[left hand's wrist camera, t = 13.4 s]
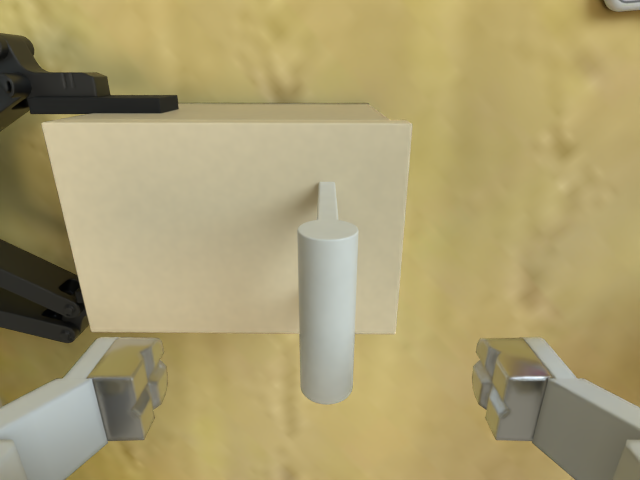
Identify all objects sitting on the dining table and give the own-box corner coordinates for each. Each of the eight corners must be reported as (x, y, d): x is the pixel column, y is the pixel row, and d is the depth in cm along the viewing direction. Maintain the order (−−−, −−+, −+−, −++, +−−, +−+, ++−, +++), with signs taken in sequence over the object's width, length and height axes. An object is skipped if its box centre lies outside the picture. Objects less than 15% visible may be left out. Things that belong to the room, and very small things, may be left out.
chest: (368, 103, 28) (391, 119, 18) (362, 244, 31) (378, 320, 22) (151, 102, 28) (58, 118, 18) (171, 243, 31) (103, 318, 22)
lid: (407, 119, 18) (470, 155, 10) (392, 320, 22) (429, 458, 14) (58, 119, 18) (-142, 153, 10) (103, 318, 22) (-19, 454, 14)
